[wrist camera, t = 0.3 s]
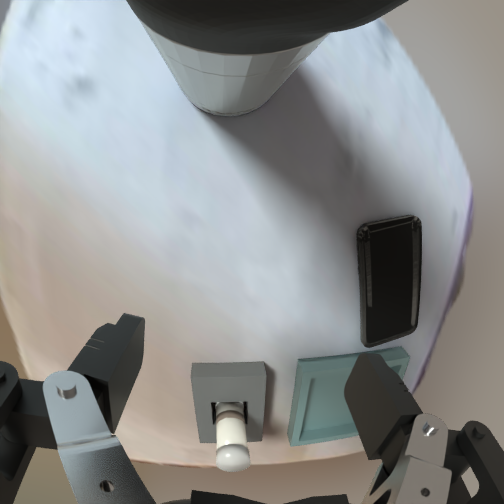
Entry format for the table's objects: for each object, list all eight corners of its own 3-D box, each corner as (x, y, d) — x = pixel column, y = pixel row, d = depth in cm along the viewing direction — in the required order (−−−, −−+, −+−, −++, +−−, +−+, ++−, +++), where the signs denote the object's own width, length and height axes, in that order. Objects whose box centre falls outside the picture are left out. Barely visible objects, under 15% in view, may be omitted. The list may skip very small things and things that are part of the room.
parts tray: (298, 359, 34) (303, 372, 31) (401, 346, 35) (410, 356, 33) (287, 433, 38) (290, 446, 36) (375, 418, 39) (381, 429, 37)
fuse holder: (192, 363, 33) (190, 377, 30) (263, 361, 33) (266, 375, 31) (200, 429, 36) (200, 442, 34) (259, 427, 37) (261, 441, 35)
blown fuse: (214, 390, 34) (215, 455, 25) (242, 389, 34) (250, 454, 25) (215, 408, 35) (217, 472, 26) (242, 408, 36) (250, 470, 26)
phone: (421, 214, 29) (417, 331, 34) (415, 212, 30) (412, 327, 35) (357, 227, 29) (362, 350, 34) (353, 224, 30) (358, 345, 35)
